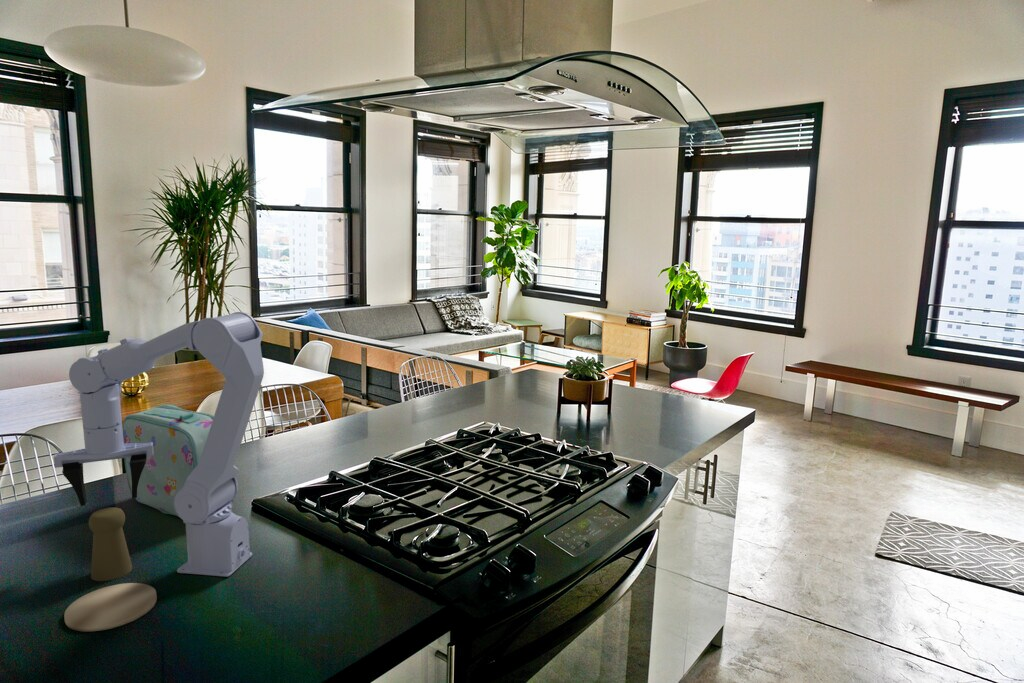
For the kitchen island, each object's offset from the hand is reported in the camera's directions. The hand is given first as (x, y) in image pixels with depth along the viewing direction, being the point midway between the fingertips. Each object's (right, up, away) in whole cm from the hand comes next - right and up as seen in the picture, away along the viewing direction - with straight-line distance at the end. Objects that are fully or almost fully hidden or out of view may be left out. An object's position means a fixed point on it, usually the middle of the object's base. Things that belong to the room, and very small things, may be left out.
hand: (109, 499), depth 115 cm
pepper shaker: (+3, -11, -4) cm, 12 cm away
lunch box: (+1, -7, +23) cm, 24 cm away
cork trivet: (+10, -13, -15) cm, 22 cm away
